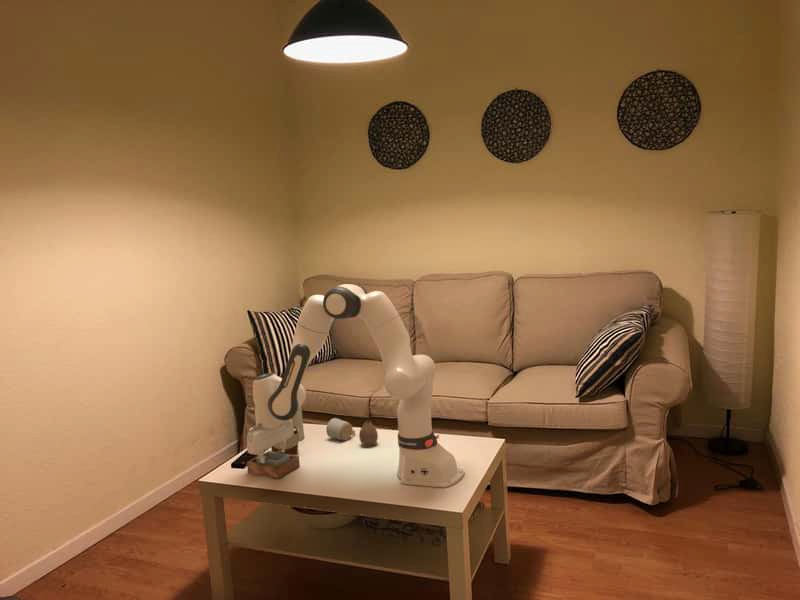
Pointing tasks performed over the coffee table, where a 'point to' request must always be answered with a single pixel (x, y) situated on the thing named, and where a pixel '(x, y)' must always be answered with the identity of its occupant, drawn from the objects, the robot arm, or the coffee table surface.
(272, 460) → the small crate
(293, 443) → the food container
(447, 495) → the coffee table surface
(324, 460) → the coffee table surface
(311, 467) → the coffee table surface
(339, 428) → the ceramic mug
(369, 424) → the vase
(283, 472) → the big crate
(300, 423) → the travel mug
